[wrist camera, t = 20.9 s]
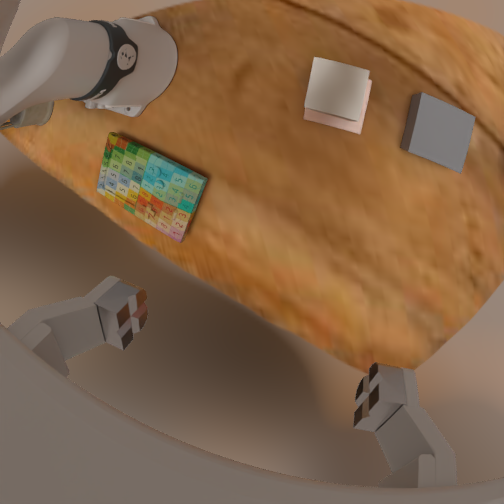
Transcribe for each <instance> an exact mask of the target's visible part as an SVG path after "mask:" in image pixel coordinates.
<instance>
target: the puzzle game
mask: <svg viewBox="0 0 504 504" xmlns="http://www.w3.org/2000/svg"><path fill="white" fill-rule="evenodd" d="M207 180H208V179H207V178H205V177H204V176H202V175H200V174H198V173H196V172H194V171H192V170H190V169H188V168H186V167H184V166H182V165H180V164H178V163H176V162H174V161H172V160H170V159H168V158H166V157H164V156H162V155H160V154H158V153H156V152H154V151H152V150H150V149H148V148H146V147H144V146H142V145H140V144H138V143H136V142H134V141H132V140H130V139H128V138H125V137H123V136H121V135H119V134H117V133H114V132H110V133H109V135H108V139H107V143H106V147H105V151H104V156H103V161H102V165H101V170H100V175H99V181H98V186H97V192H99V193H101V194H102V195H104V196H105V197H107V198H109V199H110V200H112V201H113V202H115V203H116V204H118V205H119V206H121V207H123V208H124V209H126V210H127V211H129V212H131V213H132V214H134V215H135V216H137V217H139V218H140V219H142V220H143V221H145V222H147V223H148V224H150V225H151V226H153V227H155V228H156V229H158V230H159V231H161V232H163V233H164V234H166V235H168V236H169V237H171V238H172V239H174V240H176V241H178V242H180V243H181V242H183V241H184V240H185V237H186V234H187V232H188V229H189V226H190V224H191V221H192V218H193V215H194V213H195V210H196V208H197V205H198V202H199V200H200V197H201V195H202V192H203V190H204V187H205V185H206V182H207Z"/></svg>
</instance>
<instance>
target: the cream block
mask: <svg viewBox="0 0 504 504" xmlns="http://www.w3.org/2000/svg"><path fill="white" fill-rule="evenodd" d="M368 76H369V70H365V69H362V68H359V67H355V66H351V65H348V64H344V63H340V62H336V61H332V60H327V59H323V58H318V57H314V61H313V65H312V70H311V75H310V80H309V85H308V90H307V95H306V99H305V104H304V107H305V108H308V109H311V110H313V111H316V112H320V113H323V114H327V115H331V116H335V117H338V118H342V119H346V120H349V121H359V118H360V113H361V109H362V104H363V100H364V95H365V91H366V86H367V81H368Z"/></svg>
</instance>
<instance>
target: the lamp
mask: <svg viewBox="0 0 504 504" xmlns="http://www.w3.org/2000/svg"><path fill="white" fill-rule="evenodd" d="M53 105H54V101H50V102H45V103H41V104H37V105H34V106H31V107H29V108H27V109H25V110H23V111H21V112H19V113H18V114H16V115H14V116H13V117H11V118H10V122H6V123H3V124H2V125H1V126H5V125H9V124H12V125H9V126H5V127H1V126H0V130H3V129H6V128H11V127H14V128H19V127H24V126H29V125H35V124H37V125H43V124H45V123H46V122H47V121H48V120H49V118H50V116H51V114H52V110H53Z"/></svg>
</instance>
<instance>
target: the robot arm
mask: <svg viewBox="0 0 504 504" xmlns="http://www.w3.org/2000/svg"><path fill="white" fill-rule="evenodd" d="M19 3H20V0H0V52H1V49H2V46H3V44H4V41H5V38H6V36H7V33H8V31H9V28H10V26H11V24H12V21H13V19H14V17H15V14H16V12H17V10H18V7H19ZM176 66H177V48H176V44H175V42H174V40H173V38H172V37H171V36H170V35H169V34H168V33H167V32H166V31H164V30H163V29H162V28H161V27H160V26H159V24H158V21H157V19H156V18H155V17H153V16H146V17H143V18H141V19H138V20H135V19H130V18H120V19H118V20H115V21H113V22H108V21H102V20H101V21H98V20H93V21H89V22H88V21H82V20H75V19H68V18H59V17H55V18H51V19H48V20H45V21H42V22H40V23H38V24H36V25H35V26H33V27H32V28H30V29H29V30H28V31H27V32H26V33H25V34H24V35H23V36H22V37H21V38H20V40H19V41H18V42H17V43H16V44H15V45H14V46H13V47H12V48H11V49H10V50H9V51H8V52H7V53H5V54H4V55H3V56H1V57H0V126H1V125H2V124H3V123H5V122H6V121H7V120H9V119H10V118H11V117H13V116H14V115H16V114H18V113H19V112H21V111H23V110H25V109H27V108H29V107H31V106H34V105H37V104H41V103H45V102H50V101H55V100H62V99H71V100H77V101H84V102H85V103H86V104H85V107H86V108H92V109H93V108H99V109H108V110H111V111H115V112H118V113H121V114H124V115H127V116H130V117H138V116H139V115H140V114H141V113H142V111H143V110H144V109H145V107H146V105H147V104H148V103H150V102H151V101H152V100H154V99H155V98H157V97H158V96H159V95H160V94H161V93H162V92H163V91H164V90H165V89H166V88H167V86H168V85H169V83H170V82H171V80H172V78H173V76H174V73H175V70H176ZM129 108H130V110H129ZM146 299H147V294H146V291H145V290H144V289H142V288H140V287H137V286H135V285H133V284H130V283H128V282H126V281H124V280H121V279H119V278H116V277H114V276H108V277H107V278H106V279H105V280H103V281H102V282H101V283H100V284H99V285H98V286H96V287H95V288H94V289H93V290H92V291H91V292H89V293H88V294H87V295H86V296H85V297H84V298H82V297H77V298H73V299H69V300H65V301H61V302H57V303H54V304H49V305H45V306H42V307H38V308H34V309H30V310H28V311H27V312H25V313H24V314H23V315H22V316H21V317H20V318H18V319H17V320H16V321H15V322H14V323H13V324H12V325H10V326H9V327H8V328H5V327H4V326H3V325H2V324H1V323H0V504H504V477H503V478H498V479H493V480H488V481H482V482H476V483H469V484H462V485H457V471H456V456H455V453H454V451H453V450H452V448H451V447H450V445H449V444H448V442H447V441H446V439H445V438H444V437H443V435H442V434H441V432H440V431H439V429H438V428H437V427H436V425H435V424H434V422H433V421H432V420H431V418H430V417H429V415H428V414H427V412H426V411H425V410H424V408H421V407H420V406H419V396H418V389H417V382H416V375H415V372H414V370H412V369H407V368H402V367H401V368H400V367H396V366H391V365H387V364H382V363H377V362H375V363H374V364H372V366H371V367H370V368H369V375H367V376H365V377H363V379H362V380H361V382H360V383H359V386H358V388H357V391H356V397H355V402H356V404H357V406H358V409H357V410H356V411H355V412H354V426H353V428H356V429H361V430H367V431H372V432H375V435H376V438H377V440H378V442H379V444H380V446H381V448H382V451H383V453H384V455H385V457H386V460H387V462H388V464H389V466H390V469H391V471H392V474H391V475H389V476H387V477H386V478H384V479H382V480H381V481H380V482H379V484H378V487H366V486H365V487H364V486H354V485H345V484H336V483H329V482H323V481H317V480H311V479H305V478H300V477H295V476H290V475H286V474H281V473H277V472H273V471H269V470H265V469H261V468H258V467H254V466H250V465H247V464H244V463H240V462H237V461H234V460H231V459H228V458H225V457H222V456H219V455H216V454H213V453H211V452H208V451H205V450H202V449H200V448H197V447H195V446H192V445H190V444H187V443H185V442H182V441H180V440H178V439H175V438H173V437H171V436H169V435H167V434H164V433H162V432H160V431H158V430H155V429H154V428H152V427H149V426H148V425H145V424H143V423H142V422H140V421H138V420H136V419H134V418H132V417H130V416H128V415H126V414H124V413H123V412H121V411H119V410H117V409H116V408H114V407H112V406H110V405H109V404H107V403H105V402H104V401H102V400H100V399H99V398H97V397H96V396H94V395H92V394H91V393H89V392H88V391H86V390H85V389H83V388H81V387H80V386H78V385H77V384H75V383H74V382H73V381H71V380H70V379H68V378H67V376H68V375H69V369H68V367H67V365H66V363H65V360H67V359H70V358H72V357H74V356H77V355H79V354H81V353H84V352H85V351H88V350H90V349H93V348H95V347H97V346H99V345H101V344H104V343H105V342H107V343H109V344H111V345H113V346H115V347H117V348H119V349H121V350H123V351H124V350H125V348H126V347H127V346H128V345H129V344H130V343H131V341H132V340H133V333H136V332H139V331H140V330H141V329H142V328H143V327H144V325H145V323H146V320H147V316H148V308H147V306H146V305H145V303H144V301H145V300H146Z"/></svg>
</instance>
